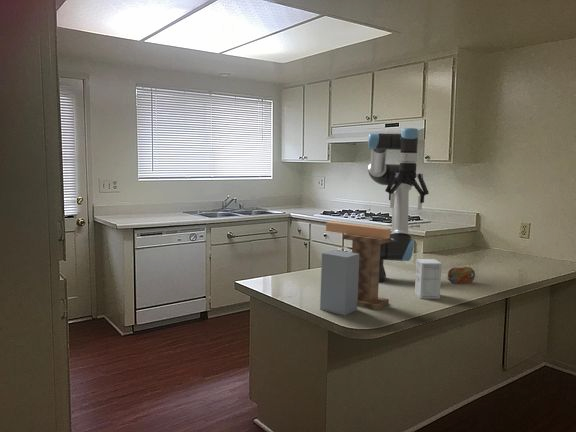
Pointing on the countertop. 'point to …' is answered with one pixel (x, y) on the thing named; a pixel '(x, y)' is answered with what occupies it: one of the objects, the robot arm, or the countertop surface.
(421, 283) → the supplement box
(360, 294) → the stand
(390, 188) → the robot arm
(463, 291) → the countertop surface
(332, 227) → the rod
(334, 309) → the slate block
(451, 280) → the tin
